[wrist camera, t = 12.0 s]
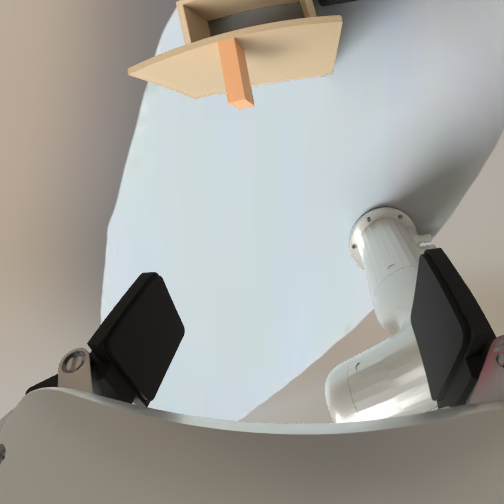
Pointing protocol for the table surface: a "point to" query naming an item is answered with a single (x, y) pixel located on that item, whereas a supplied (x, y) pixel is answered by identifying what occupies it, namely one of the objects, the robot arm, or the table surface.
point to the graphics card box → (332, 2)
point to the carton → (223, 4)
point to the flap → (247, 59)
